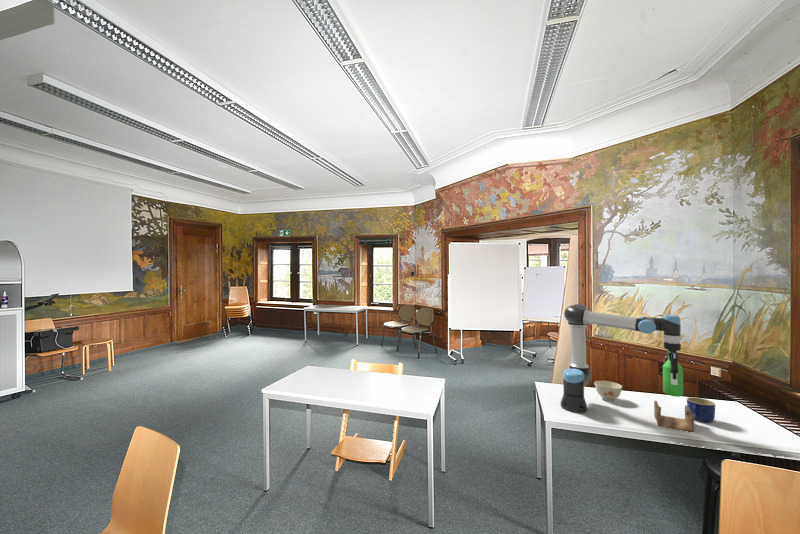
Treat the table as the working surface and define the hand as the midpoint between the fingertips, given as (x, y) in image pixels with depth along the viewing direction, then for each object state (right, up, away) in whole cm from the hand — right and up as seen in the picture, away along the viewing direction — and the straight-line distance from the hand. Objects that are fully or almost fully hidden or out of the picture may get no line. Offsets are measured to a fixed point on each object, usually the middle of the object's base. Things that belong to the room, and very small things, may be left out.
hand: (672, 382), depth 189 cm
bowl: (-14, -25, +37) cm, 47 cm away
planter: (+21, -24, +5) cm, 32 cm away
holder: (0, -24, 0) cm, 24 cm away
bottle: (0, -7, 0) cm, 7 cm away
